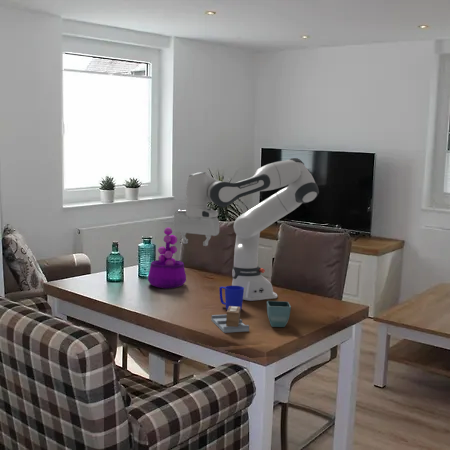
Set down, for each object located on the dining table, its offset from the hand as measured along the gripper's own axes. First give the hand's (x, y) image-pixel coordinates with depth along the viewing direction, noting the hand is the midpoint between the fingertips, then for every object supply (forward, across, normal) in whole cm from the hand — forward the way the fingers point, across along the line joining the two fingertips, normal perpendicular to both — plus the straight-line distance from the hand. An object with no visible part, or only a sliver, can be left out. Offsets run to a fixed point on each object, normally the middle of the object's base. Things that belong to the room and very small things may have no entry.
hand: (195, 244), depth 259 cm
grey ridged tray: (+29, +21, -10) cm, 37 cm away
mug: (+29, +11, +13) cm, 34 cm away
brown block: (+27, +24, -13) cm, 38 cm away
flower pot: (+29, +38, +1) cm, 48 cm away
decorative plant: (+29, -33, +34) cm, 55 cm away
